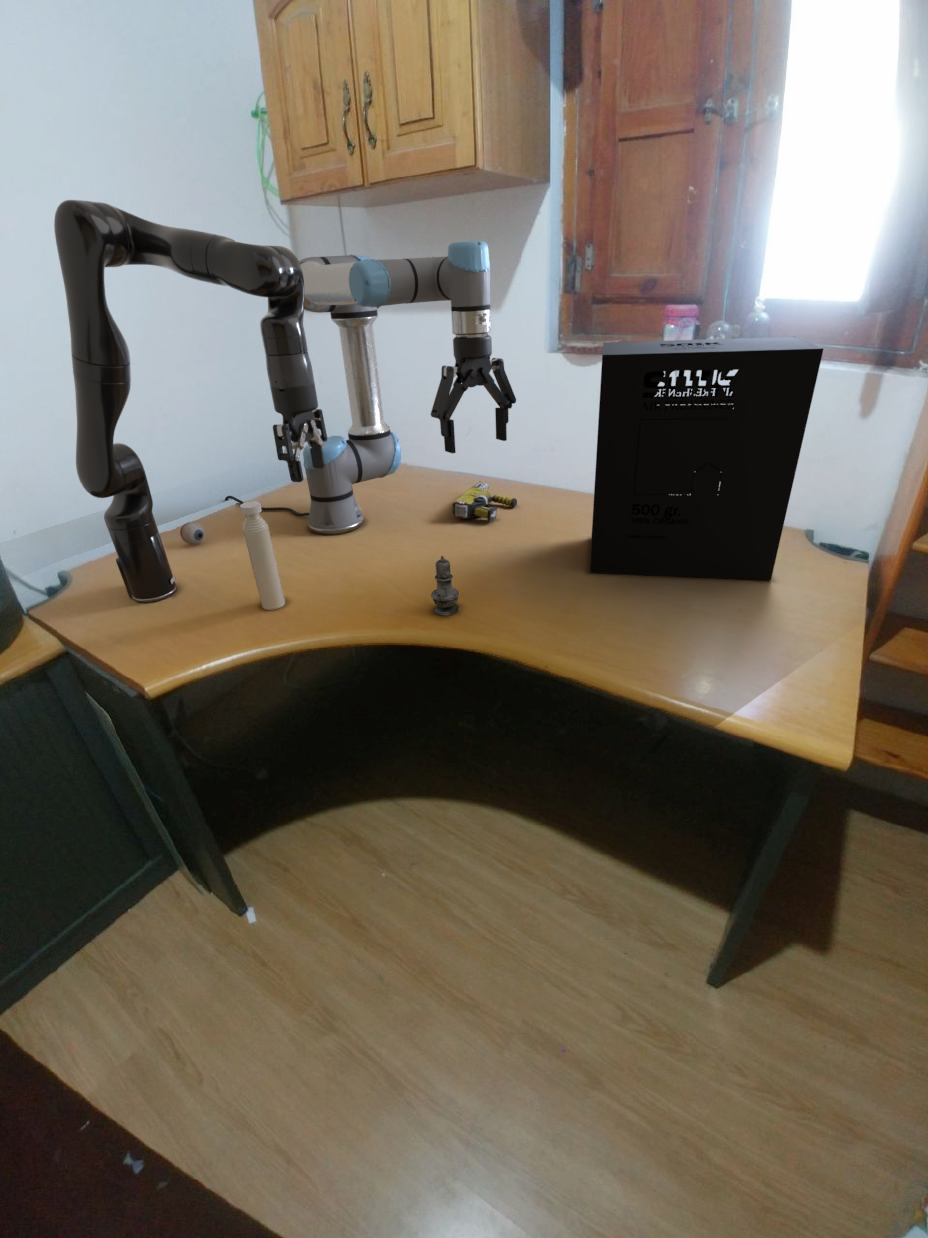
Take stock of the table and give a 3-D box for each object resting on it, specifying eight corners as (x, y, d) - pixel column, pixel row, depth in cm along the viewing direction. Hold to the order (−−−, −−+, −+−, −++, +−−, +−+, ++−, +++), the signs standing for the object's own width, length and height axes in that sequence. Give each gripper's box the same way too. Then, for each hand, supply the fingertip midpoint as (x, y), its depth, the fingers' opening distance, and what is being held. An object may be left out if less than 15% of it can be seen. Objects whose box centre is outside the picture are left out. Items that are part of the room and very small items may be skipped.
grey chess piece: (457, 617, 121) (453, 562, 115) (428, 615, 122) (423, 561, 116) (463, 603, 126) (459, 550, 120) (435, 601, 127) (431, 549, 121)
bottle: (272, 612, 127) (248, 512, 116) (257, 606, 129) (232, 508, 118) (290, 602, 130) (268, 504, 119) (274, 597, 133) (252, 500, 122)
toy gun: (525, 486, 181) (478, 479, 184) (503, 510, 160) (450, 501, 164) (523, 501, 183) (477, 494, 187) (501, 526, 163) (450, 518, 167)
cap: (250, 516, 117) (248, 509, 116) (237, 513, 119) (235, 506, 118) (265, 510, 120) (264, 502, 119) (253, 507, 122) (251, 500, 121)
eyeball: (193, 549, 159) (187, 528, 156) (179, 545, 162) (172, 524, 159) (212, 541, 163) (206, 520, 160) (198, 538, 166) (191, 517, 163)
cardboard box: (751, 542, 144) (793, 336, 122) (770, 580, 127) (823, 348, 105) (591, 537, 152) (603, 342, 130) (589, 572, 135) (602, 354, 112)
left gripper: (292, 375, 110) (308, 463, 119) (250, 389, 99) (270, 485, 107) (330, 374, 109) (343, 464, 117) (291, 388, 97) (309, 487, 105)
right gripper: (429, 342, 108) (437, 460, 118) (533, 329, 120) (532, 437, 131) (407, 340, 113) (417, 454, 124) (508, 328, 125) (510, 432, 136)
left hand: (308, 474), depth 112 cm, fingers open, 8 cm apart
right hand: (476, 445), depth 127 cm, fingers open, 13 cm apart
